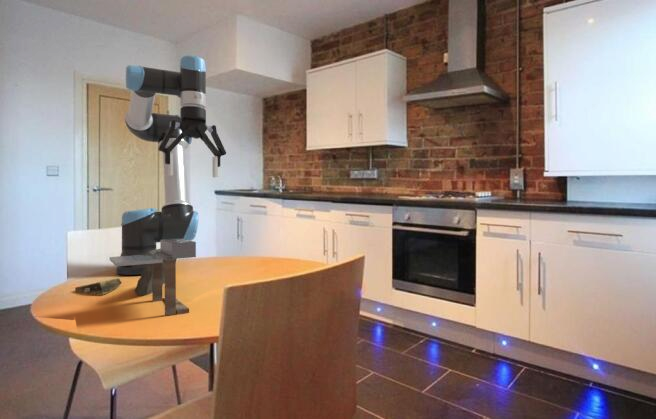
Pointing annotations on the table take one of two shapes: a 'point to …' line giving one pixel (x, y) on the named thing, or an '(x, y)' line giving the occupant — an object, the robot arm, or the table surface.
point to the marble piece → (148, 278)
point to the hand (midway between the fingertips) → (193, 176)
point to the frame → (167, 287)
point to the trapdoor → (160, 253)
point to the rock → (99, 287)
